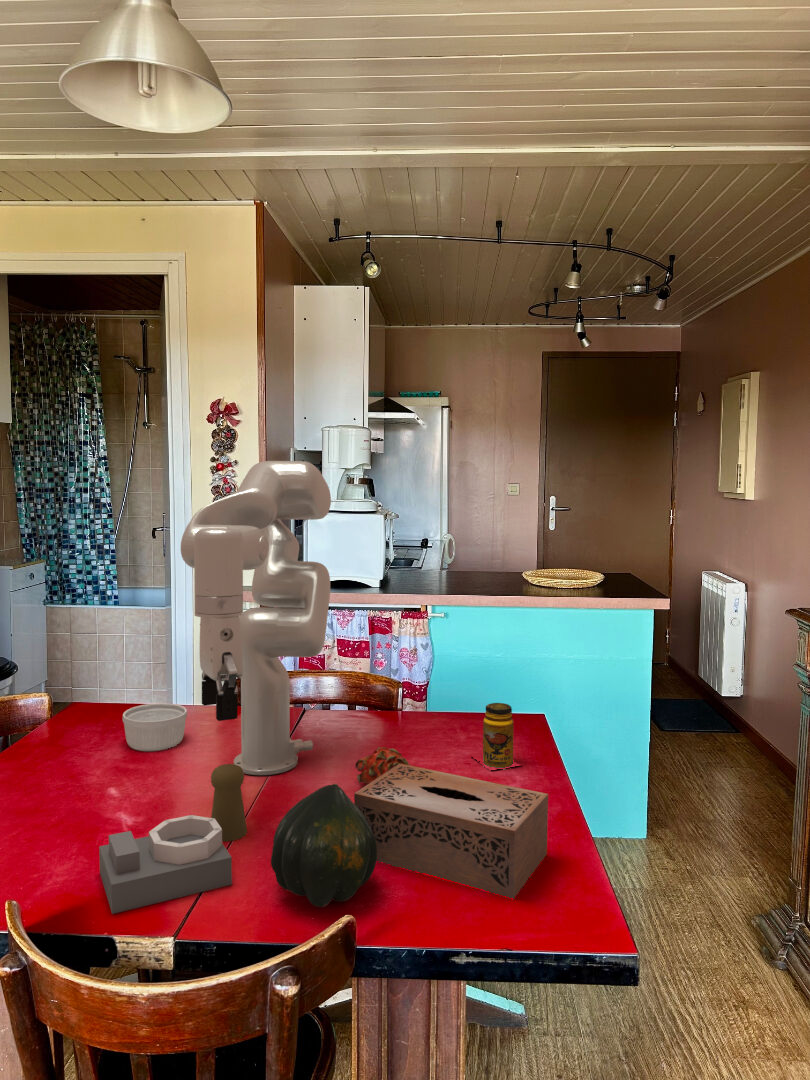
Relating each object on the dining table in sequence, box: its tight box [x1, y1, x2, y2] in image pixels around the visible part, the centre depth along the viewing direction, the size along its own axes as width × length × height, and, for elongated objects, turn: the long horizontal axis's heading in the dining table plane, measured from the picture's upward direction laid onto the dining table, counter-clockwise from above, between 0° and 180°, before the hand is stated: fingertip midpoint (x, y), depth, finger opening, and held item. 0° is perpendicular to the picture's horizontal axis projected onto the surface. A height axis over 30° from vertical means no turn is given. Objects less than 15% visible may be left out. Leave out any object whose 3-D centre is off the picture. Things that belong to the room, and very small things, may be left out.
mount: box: [98, 814, 233, 915], centre depth 111 cm, size 16×12×6 cm
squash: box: [270, 783, 377, 908], centre depth 109 cm, size 14×15×15 cm
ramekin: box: [122, 702, 188, 752], centre depth 168 cm, size 13×13×7 cm
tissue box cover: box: [353, 763, 549, 900], centre depth 119 cm, size 26×14×10 cm, turn 62°
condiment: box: [482, 702, 514, 768], centre depth 158 cm, size 7×8×12 cm
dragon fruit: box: [354, 746, 410, 785], centre depth 144 cm, size 8×8×12 cm
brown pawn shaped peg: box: [210, 763, 248, 843], centre depth 125 cm, size 6×6×11 cm
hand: (219, 711), depth 125 cm, fingers open, 9 cm apart
